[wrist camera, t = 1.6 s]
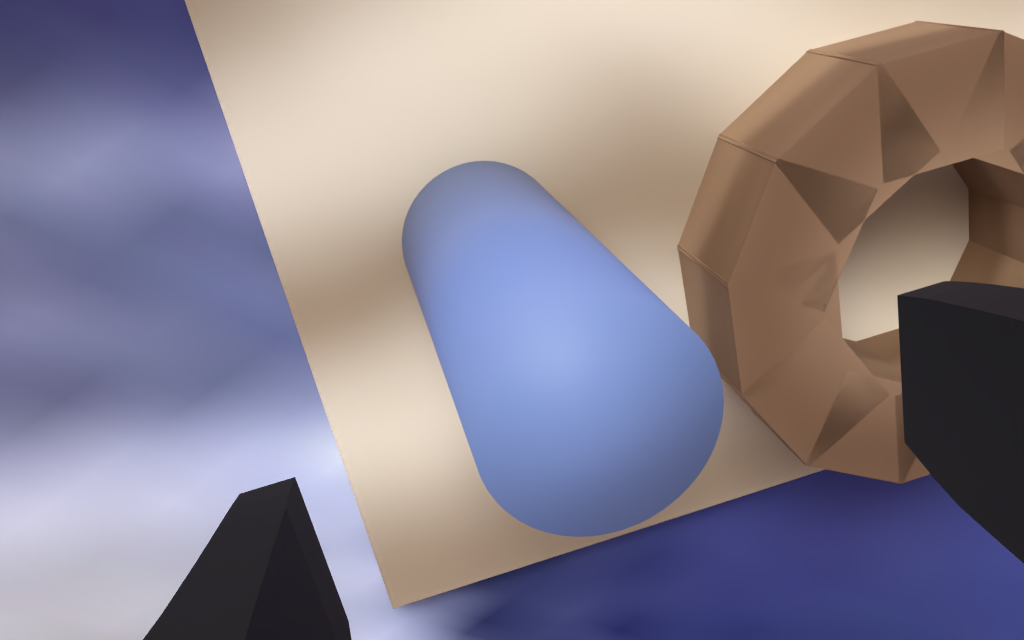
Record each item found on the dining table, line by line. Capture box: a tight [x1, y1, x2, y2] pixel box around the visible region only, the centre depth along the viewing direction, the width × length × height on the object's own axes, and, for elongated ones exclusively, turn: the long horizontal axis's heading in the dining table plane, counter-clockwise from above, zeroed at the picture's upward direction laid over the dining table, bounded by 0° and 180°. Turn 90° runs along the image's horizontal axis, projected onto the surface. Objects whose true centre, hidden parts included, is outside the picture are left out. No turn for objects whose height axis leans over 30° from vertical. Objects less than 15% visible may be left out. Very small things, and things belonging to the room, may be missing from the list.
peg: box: [402, 161, 724, 537], centre depth 15 cm, size 3×3×8 cm
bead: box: [677, 21, 1024, 484], centre depth 19 cm, size 9×9×2 cm
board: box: [185, 0, 1024, 609], centre depth 20 cm, size 14×18×1 cm
